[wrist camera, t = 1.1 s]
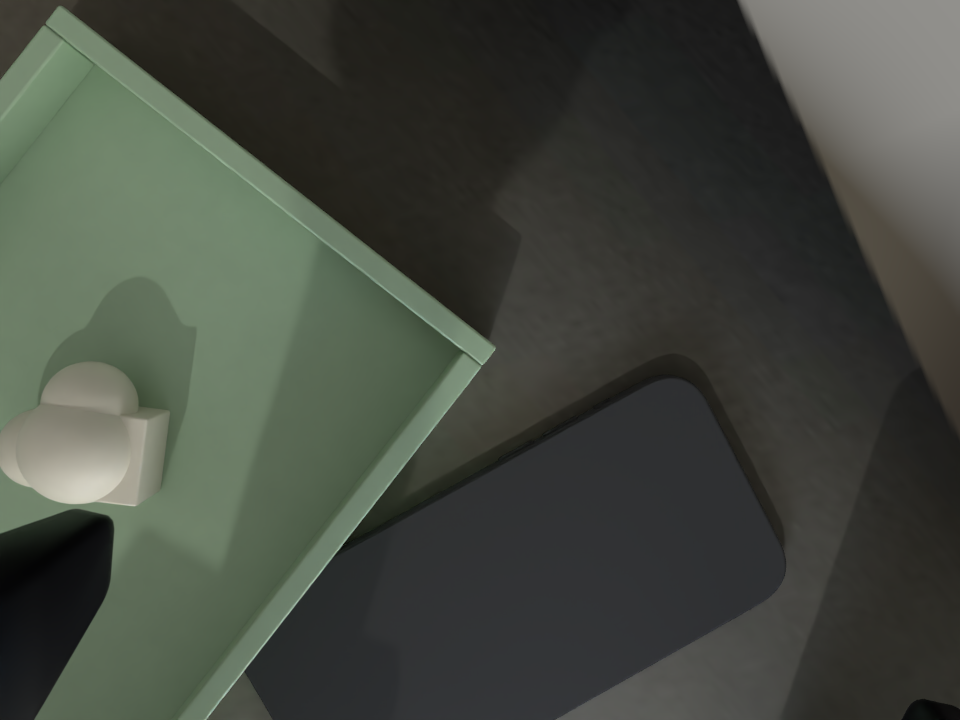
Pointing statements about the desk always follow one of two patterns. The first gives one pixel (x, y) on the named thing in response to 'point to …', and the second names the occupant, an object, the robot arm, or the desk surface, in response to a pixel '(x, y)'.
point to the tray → (200, 365)
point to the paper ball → (87, 440)
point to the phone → (535, 575)
